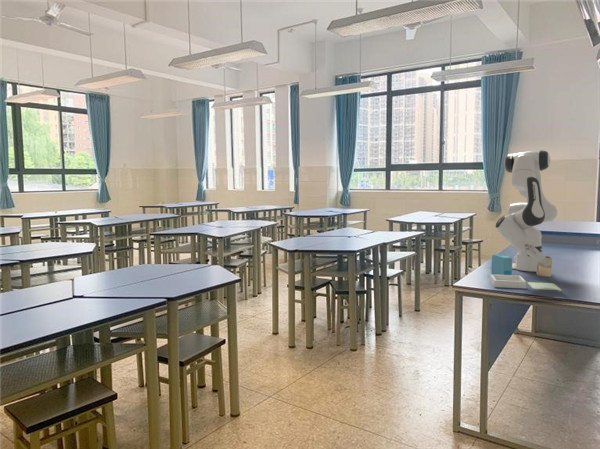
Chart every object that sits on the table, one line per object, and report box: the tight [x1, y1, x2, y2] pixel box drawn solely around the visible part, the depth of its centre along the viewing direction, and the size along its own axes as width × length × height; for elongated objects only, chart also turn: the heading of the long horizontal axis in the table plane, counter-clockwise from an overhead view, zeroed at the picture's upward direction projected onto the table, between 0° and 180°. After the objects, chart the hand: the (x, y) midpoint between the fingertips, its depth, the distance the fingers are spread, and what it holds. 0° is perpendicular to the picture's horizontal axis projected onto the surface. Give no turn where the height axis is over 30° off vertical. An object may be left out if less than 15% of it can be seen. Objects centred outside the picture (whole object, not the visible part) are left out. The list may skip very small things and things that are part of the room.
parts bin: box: [489, 273, 527, 289], centre depth 214 cm, size 14×14×4 cm
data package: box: [491, 253, 513, 275], centre depth 232 cm, size 12×4×12 cm, turn 5°
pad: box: [526, 281, 563, 293], centre depth 210 cm, size 14×12×1 cm
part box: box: [536, 255, 553, 277], centre depth 209 cm, size 5×5×9 cm
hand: (545, 264), depth 208 cm, fingers closed on part box, 5 cm apart
